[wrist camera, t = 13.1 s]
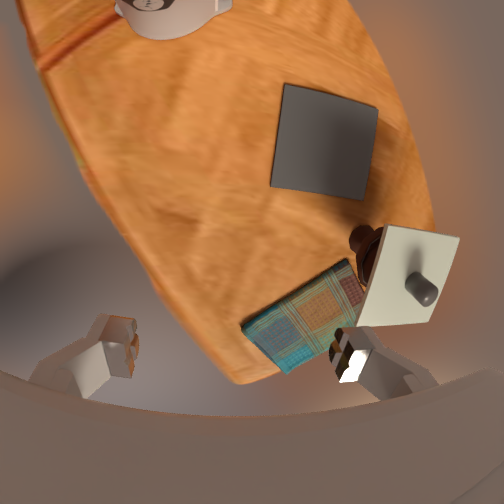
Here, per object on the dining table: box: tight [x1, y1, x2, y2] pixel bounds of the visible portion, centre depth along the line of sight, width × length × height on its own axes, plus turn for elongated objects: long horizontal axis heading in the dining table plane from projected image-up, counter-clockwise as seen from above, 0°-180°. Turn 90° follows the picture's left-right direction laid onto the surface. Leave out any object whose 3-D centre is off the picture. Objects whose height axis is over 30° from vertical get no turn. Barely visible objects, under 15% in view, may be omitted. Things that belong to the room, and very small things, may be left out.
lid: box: [354, 223, 460, 327], centre depth 31 cm, size 14×14×5 cm
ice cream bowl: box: [349, 226, 384, 287], centre depth 40 cm, size 11×11×15 cm
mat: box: [270, 85, 378, 201], centre depth 39 cm, size 16×16×1 cm
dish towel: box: [241, 259, 364, 374], centre depth 52 cm, size 17×23×2 cm
